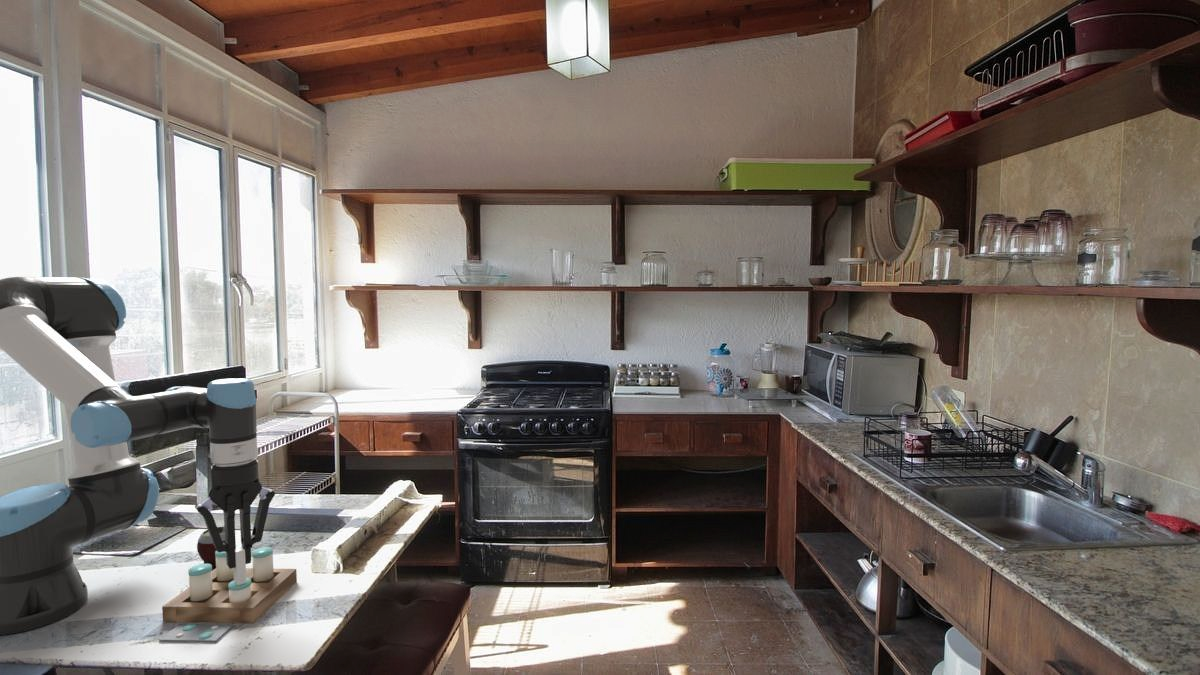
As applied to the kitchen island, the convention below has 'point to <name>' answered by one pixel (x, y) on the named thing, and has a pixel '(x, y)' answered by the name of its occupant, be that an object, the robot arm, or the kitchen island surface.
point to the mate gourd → (209, 547)
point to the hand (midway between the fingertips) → (240, 581)
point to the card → (197, 633)
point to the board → (218, 603)
